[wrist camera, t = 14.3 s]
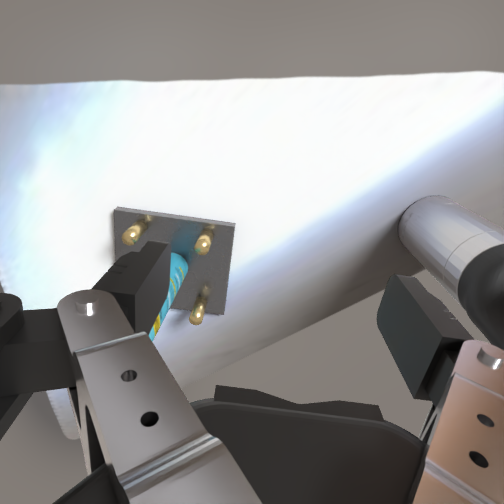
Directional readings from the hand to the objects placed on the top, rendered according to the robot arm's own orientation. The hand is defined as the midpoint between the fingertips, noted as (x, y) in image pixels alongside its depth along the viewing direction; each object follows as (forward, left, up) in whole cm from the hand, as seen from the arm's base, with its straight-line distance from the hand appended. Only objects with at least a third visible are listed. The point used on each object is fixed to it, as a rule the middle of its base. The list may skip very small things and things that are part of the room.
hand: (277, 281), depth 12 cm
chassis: (+12, +20, -38) cm, 45 cm away
